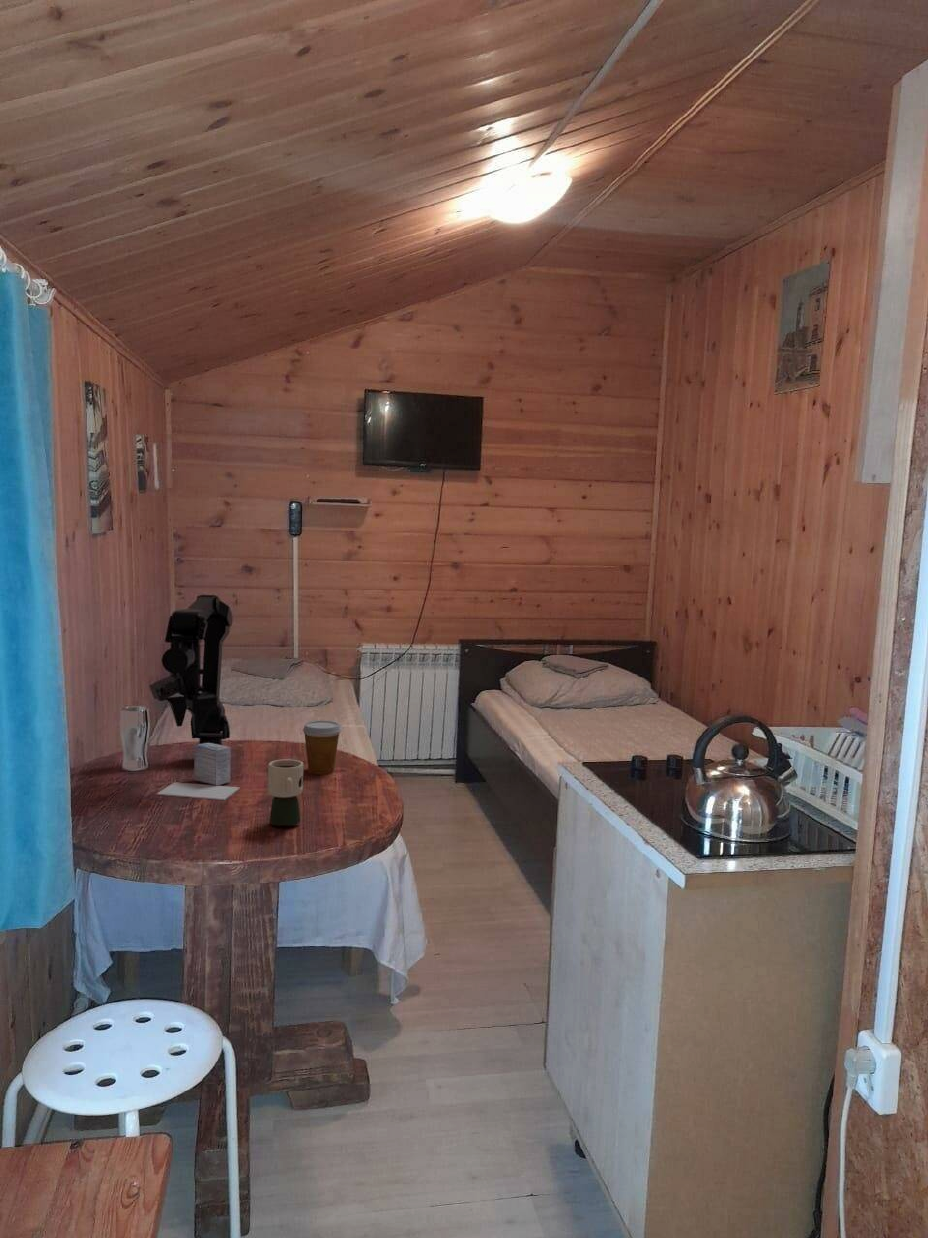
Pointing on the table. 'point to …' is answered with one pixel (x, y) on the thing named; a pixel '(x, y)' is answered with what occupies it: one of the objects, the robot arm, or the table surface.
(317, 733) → the disposable coffee cup
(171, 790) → the mat
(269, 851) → the table surface
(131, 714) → the beer glass
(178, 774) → the table surface
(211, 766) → the medicine box
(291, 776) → the character mug
